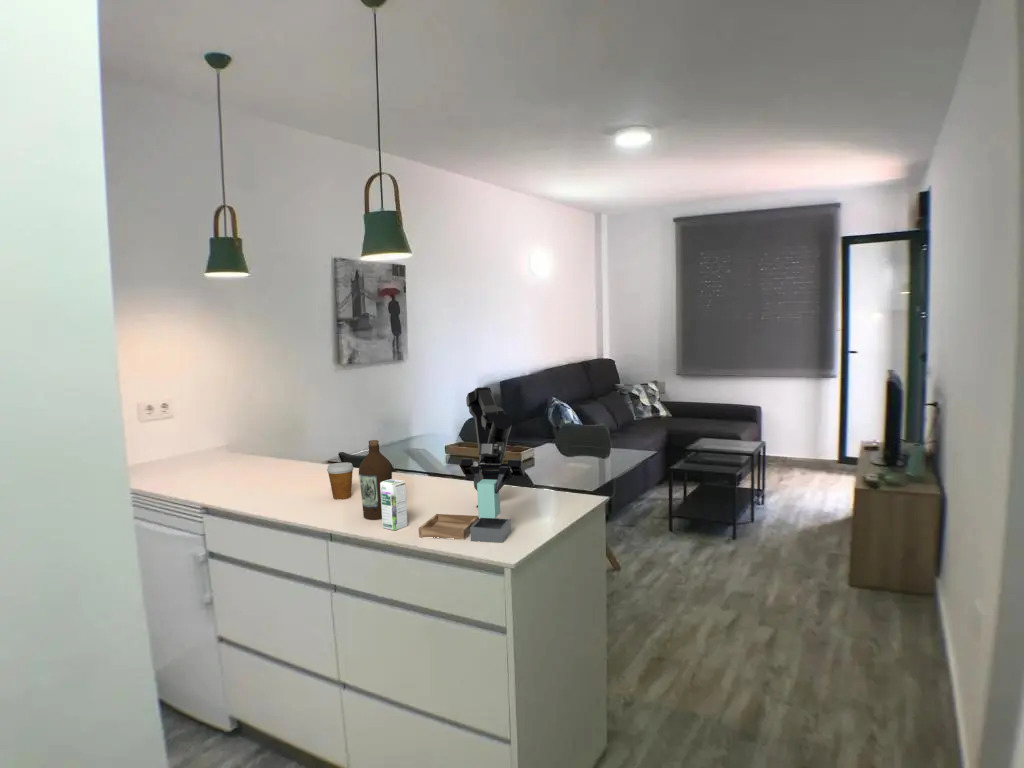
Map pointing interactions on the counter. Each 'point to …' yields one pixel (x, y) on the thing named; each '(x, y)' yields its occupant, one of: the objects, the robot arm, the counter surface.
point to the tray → (448, 526)
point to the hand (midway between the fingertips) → (486, 492)
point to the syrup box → (393, 504)
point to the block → (488, 499)
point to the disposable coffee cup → (340, 479)
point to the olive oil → (373, 480)
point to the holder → (490, 530)
